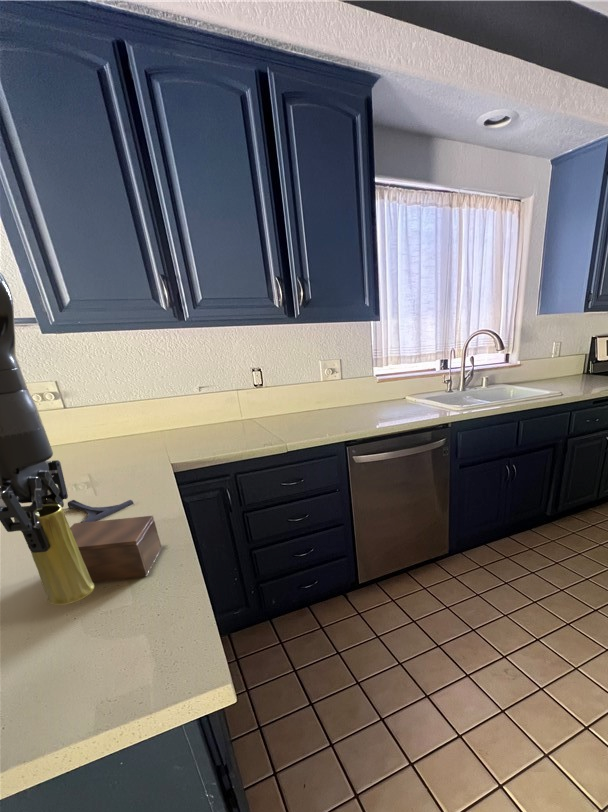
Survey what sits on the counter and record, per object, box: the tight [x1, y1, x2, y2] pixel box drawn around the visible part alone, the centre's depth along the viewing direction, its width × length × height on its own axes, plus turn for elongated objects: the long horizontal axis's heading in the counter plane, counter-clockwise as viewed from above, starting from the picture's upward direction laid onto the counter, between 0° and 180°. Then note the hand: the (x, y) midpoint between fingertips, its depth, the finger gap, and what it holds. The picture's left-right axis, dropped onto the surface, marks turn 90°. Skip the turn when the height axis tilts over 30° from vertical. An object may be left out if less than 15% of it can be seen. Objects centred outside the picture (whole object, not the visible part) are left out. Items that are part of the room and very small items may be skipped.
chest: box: [80, 519, 163, 584], centre depth 88 cm, size 15×12×8 cm
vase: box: [25, 504, 95, 606], centre depth 64 cm, size 6×6×14 cm
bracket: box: [67, 499, 134, 523], centre depth 114 cm, size 14×15×3 cm
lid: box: [70, 515, 155, 551], centre depth 86 cm, size 15×12×1 cm
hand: (51, 540), depth 63 cm, fingers closed on vase, 5 cm apart
